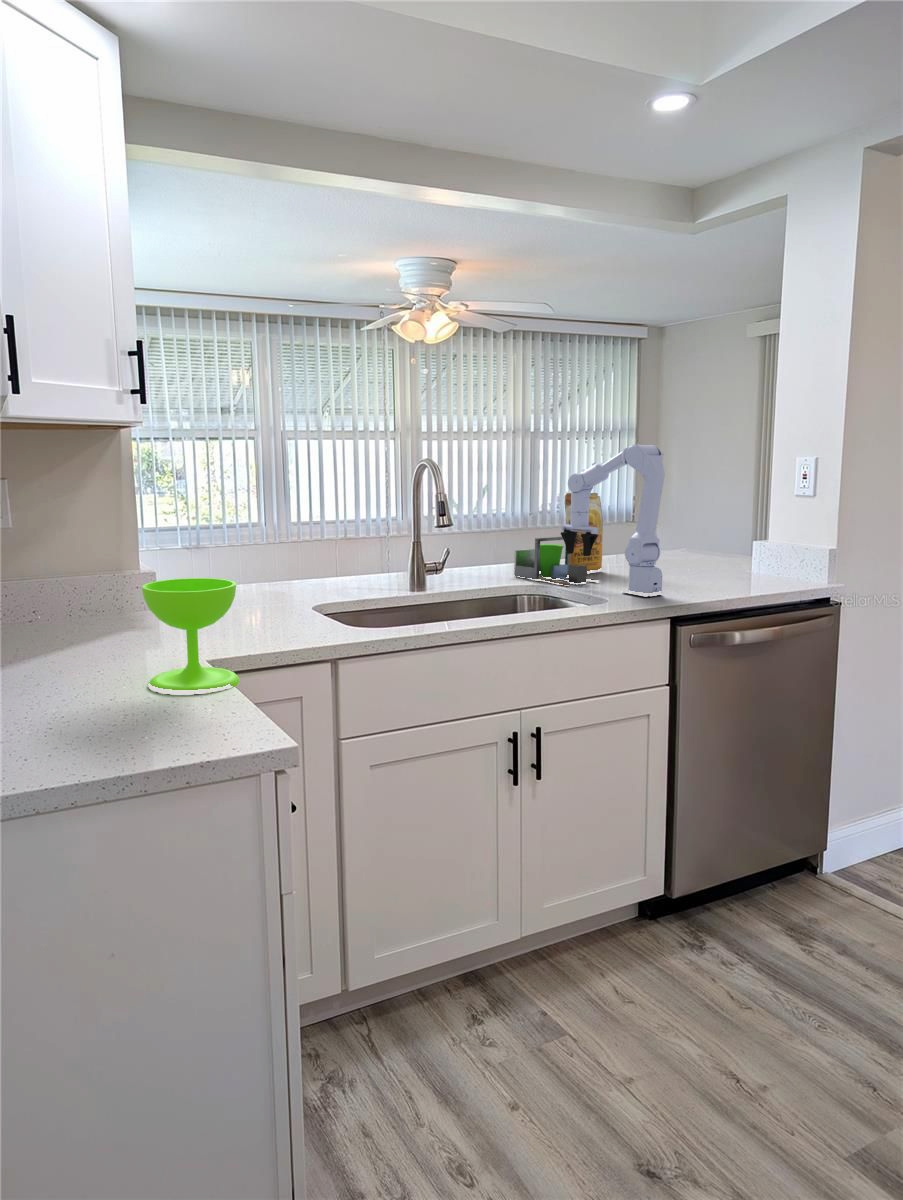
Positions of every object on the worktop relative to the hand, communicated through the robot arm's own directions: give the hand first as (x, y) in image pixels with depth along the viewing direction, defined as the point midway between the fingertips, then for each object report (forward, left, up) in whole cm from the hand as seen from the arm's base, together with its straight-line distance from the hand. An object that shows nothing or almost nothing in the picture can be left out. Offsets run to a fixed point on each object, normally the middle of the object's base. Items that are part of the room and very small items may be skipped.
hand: (578, 554), depth 268 cm
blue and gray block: (+4, 0, -10) cm, 10 cm away
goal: (+17, 0, -9) cm, 20 cm away
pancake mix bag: (+17, -19, -10) cm, 27 cm away
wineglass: (-47, +141, -10) cm, 149 cm away
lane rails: (+5, 0, -10) cm, 10 cm away
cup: (+14, 0, -10) cm, 17 cm away
